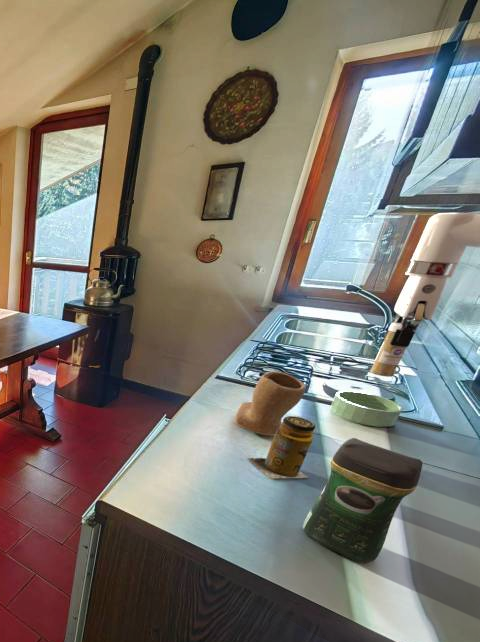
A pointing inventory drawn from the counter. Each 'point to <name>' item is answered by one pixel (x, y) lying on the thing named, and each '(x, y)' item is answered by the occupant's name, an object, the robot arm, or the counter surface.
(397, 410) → the bowl
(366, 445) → the coffee jar
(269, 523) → the counter surface
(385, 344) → the sprinkles bottle
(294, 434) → the condiment
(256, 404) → the brown boot planter
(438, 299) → the robot arm
